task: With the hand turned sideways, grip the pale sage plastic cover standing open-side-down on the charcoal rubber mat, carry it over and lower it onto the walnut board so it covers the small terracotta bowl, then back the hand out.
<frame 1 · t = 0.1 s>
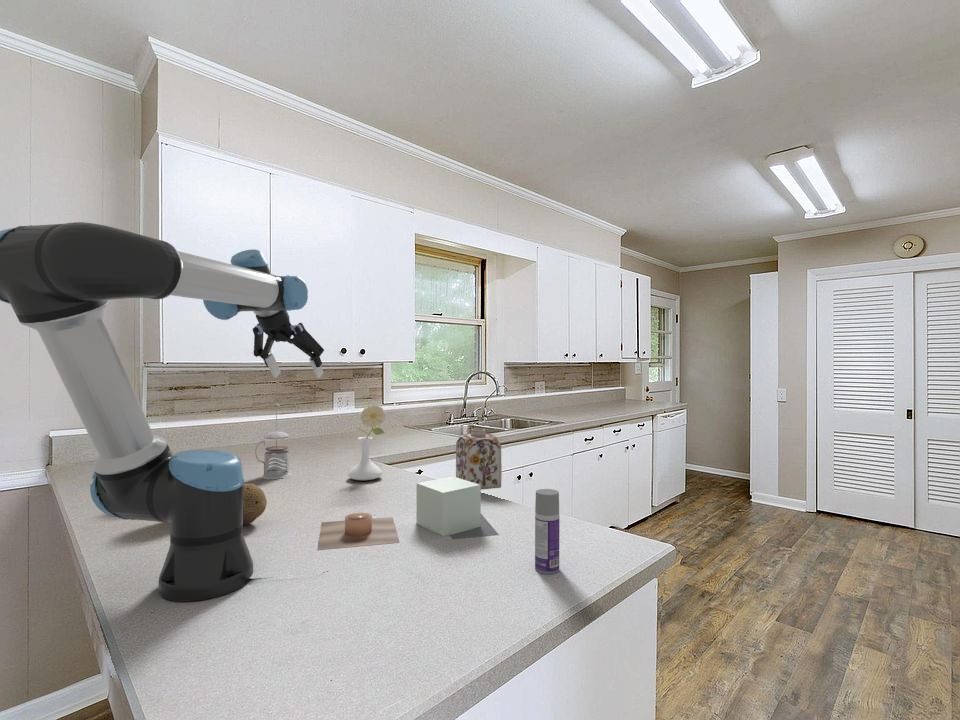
hand: (298, 375, 141), 36 cm above the worktop, tool tilted 35°, fingers open, 13 cm apart
decorative jar: (478, 486, 161), on the worktop
mat: (448, 527, 121), on the worktop
bowl: (358, 531, 116), point 1 cm above the worktop, touching board
container: (547, 570, 98), on the worktop
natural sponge: (247, 525, 123), on the worktop
board: (358, 535, 116), on the worktop
cover: (448, 525, 121), resting on mat
french press: (273, 476, 173), on the worktop
plant pot: (184, 520, 127), on the worktop
flower in vase: (367, 479, 169), on the worktop
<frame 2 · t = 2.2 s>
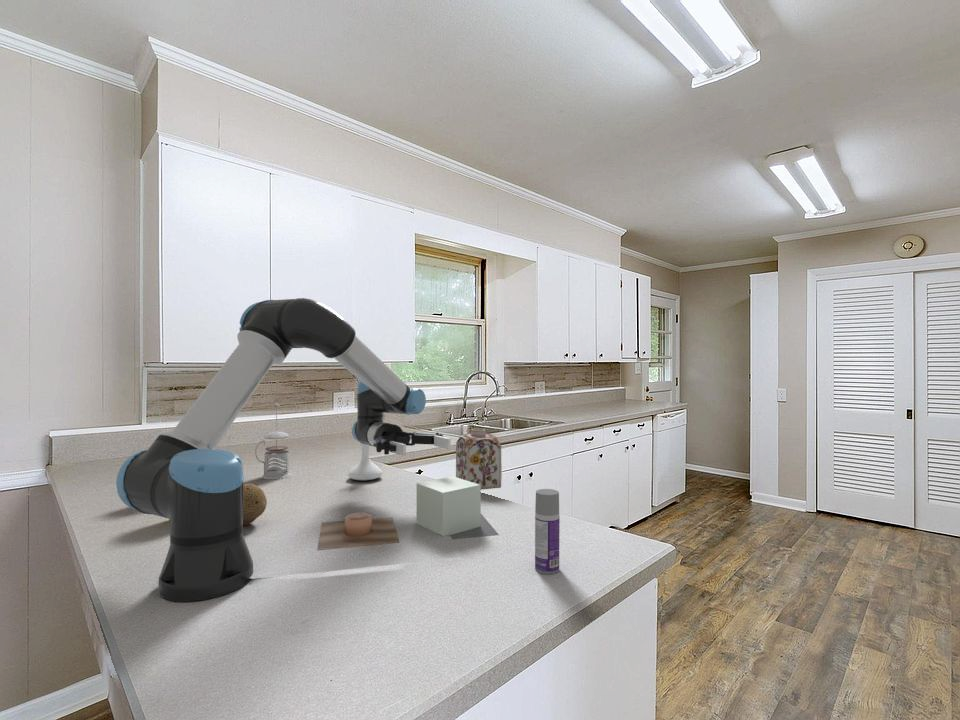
hand: (427, 446, 128), 18 cm above the worktop, tool horizontal, fingers open, 13 cm apart
nothing on the worktop moved.
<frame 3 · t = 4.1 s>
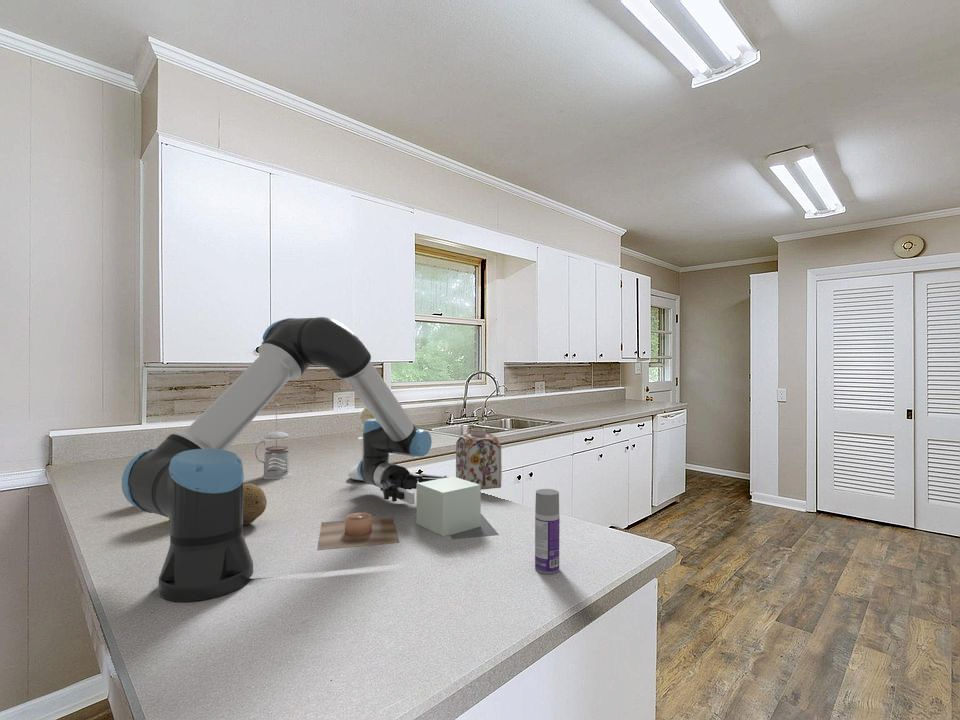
hand: (436, 493, 126), 7 cm above the worktop, tool horizontal, fingers open, 13 cm apart
nothing on the worktop moved.
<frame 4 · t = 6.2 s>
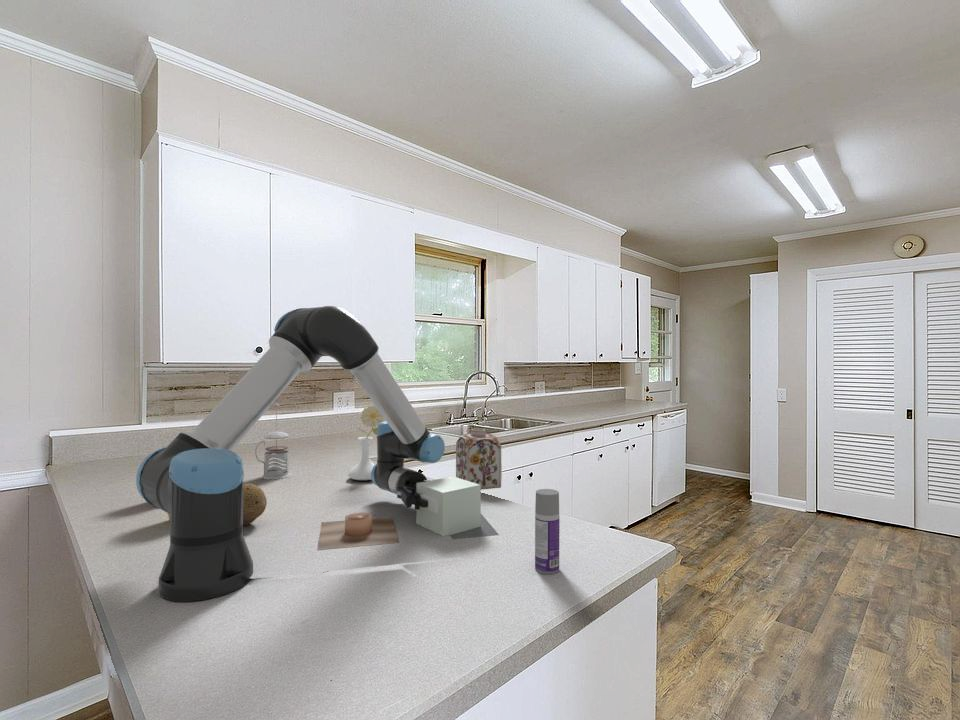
hand: (458, 502, 118), 7 cm above the worktop, tool horizontal, fingers closed on cover, 11 cm apart
cover: (448, 525, 121), point 1 cm above the worktop, touching gripper, mat
everything else where it was.
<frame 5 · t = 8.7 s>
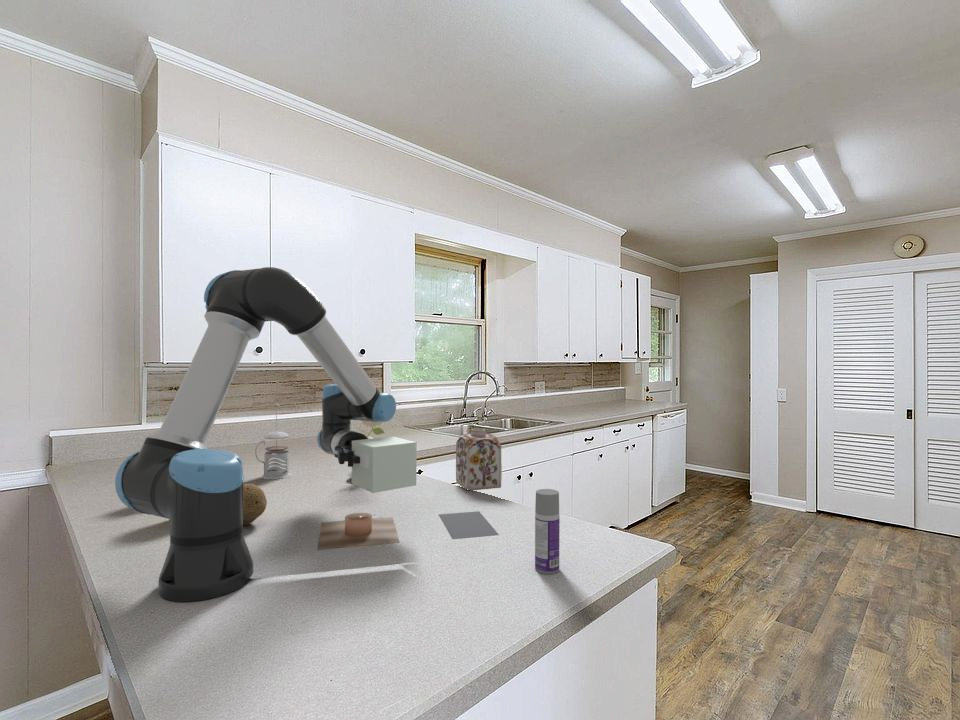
hand: (391, 459, 115), 18 cm above the worktop, tool horizontal, fingers closed on cover, 11 cm apart
cover: (383, 484, 118), point 11 cm above the worktop, touching gripper
everything else where it was.
when the fingers open (9 cm above the worktop, at t = 11.5 s): cover drops 2 cm, resting on board.
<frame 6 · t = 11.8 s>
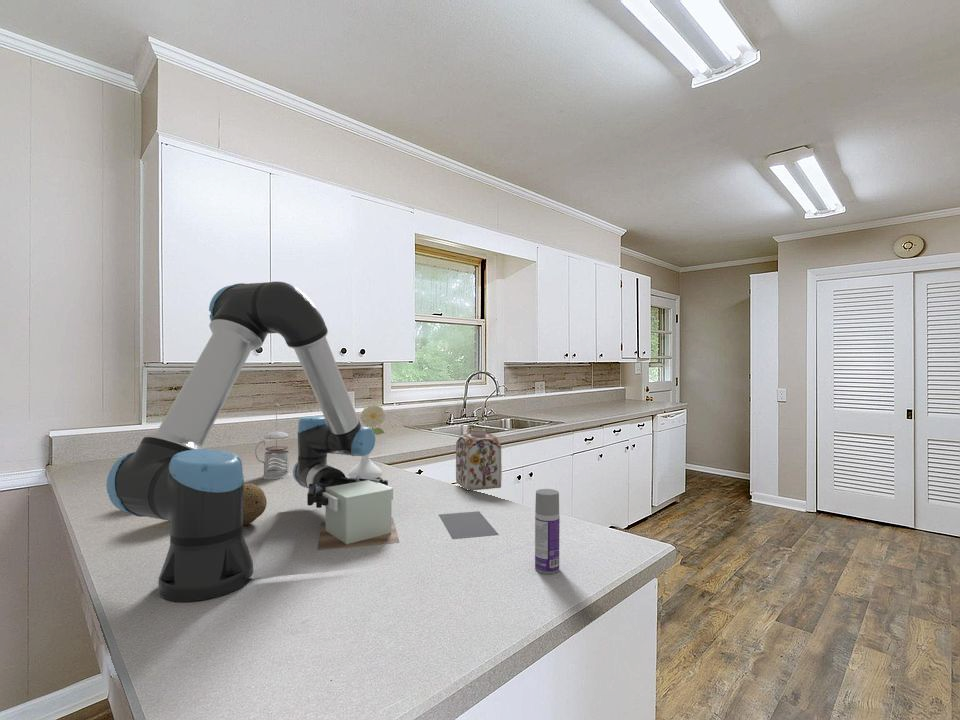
hand: (365, 499, 113), 9 cm above the worktop, tool horizontal, fingers open, 13 cm apart
cover: (358, 531, 116), point 1 cm above the worktop, touching board
everything else where it was.
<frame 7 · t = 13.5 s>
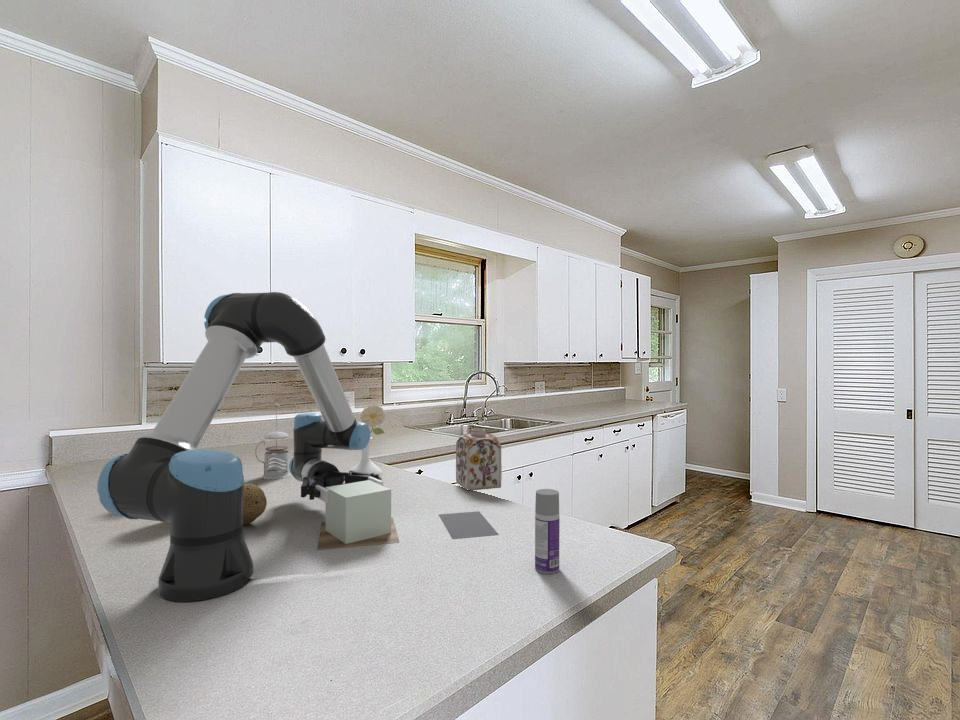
hand: (355, 491, 119), 9 cm above the worktop, tool horizontal, fingers open, 13 cm apart
nothing on the worktop moved.
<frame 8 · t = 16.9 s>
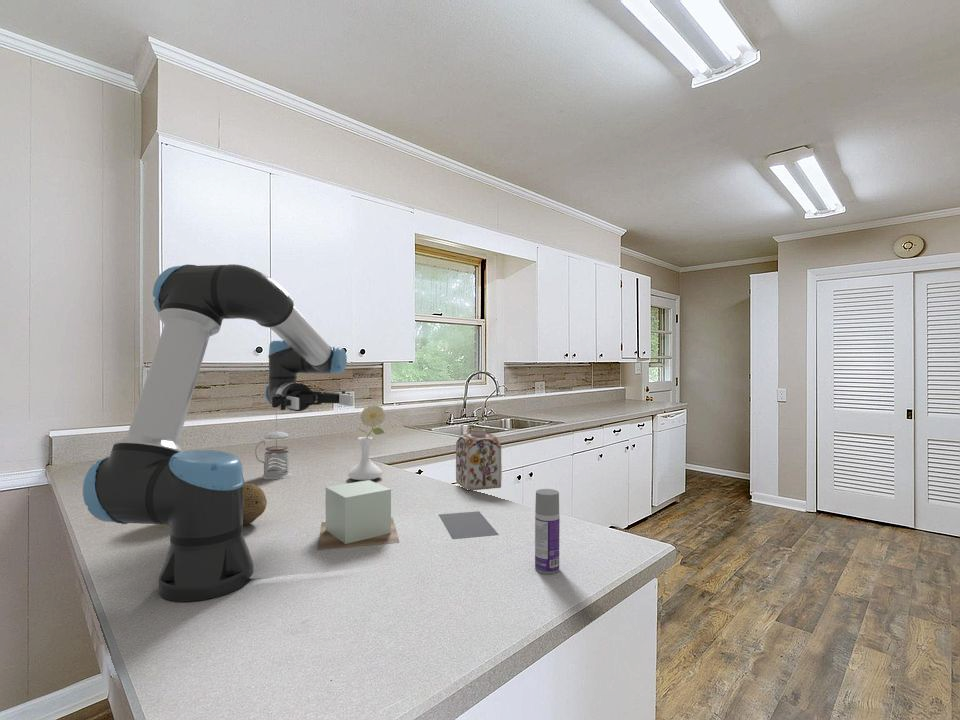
hand: (325, 402, 122), 30 cm above the worktop, tool horizontal, fingers open, 13 cm apart
nothing on the worktop moved.
at the end: cover 0.2 cm from the bowl (horizontally); cover point 0.8 cm above the worktop; cover tilted 0° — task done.
